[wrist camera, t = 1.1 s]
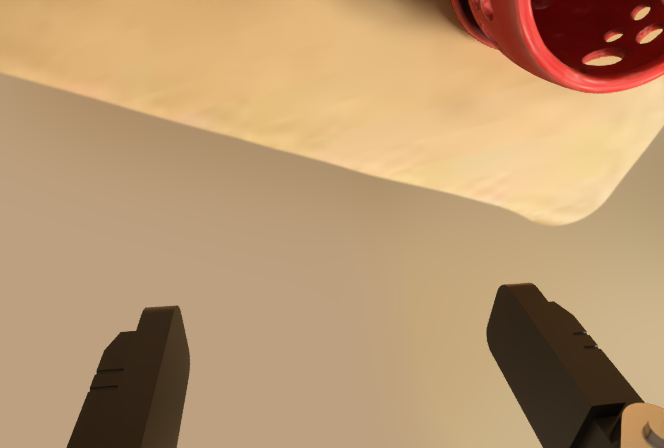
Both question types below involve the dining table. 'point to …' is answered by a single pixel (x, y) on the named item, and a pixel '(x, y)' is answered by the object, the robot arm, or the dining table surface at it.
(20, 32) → the dining table surface
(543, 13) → the plant pot
